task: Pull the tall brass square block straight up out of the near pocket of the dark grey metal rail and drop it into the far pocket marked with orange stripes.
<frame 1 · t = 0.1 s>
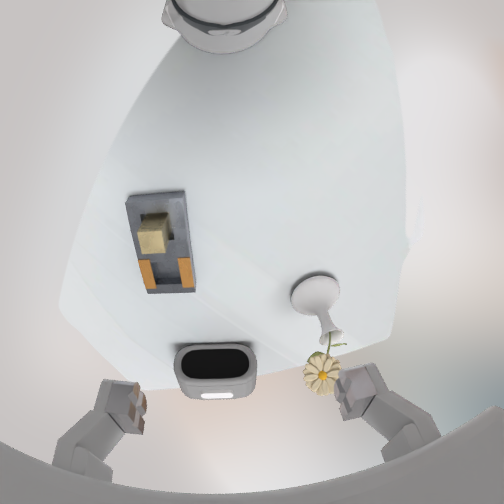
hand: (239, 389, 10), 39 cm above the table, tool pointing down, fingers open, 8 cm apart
brass block: (159, 221, 46), point 1 cm above the table, touching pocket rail
flower in vase: (310, 292, 61), on the table
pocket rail: (164, 242, 50), on the table
alarm clock: (215, 351, 70), on the table
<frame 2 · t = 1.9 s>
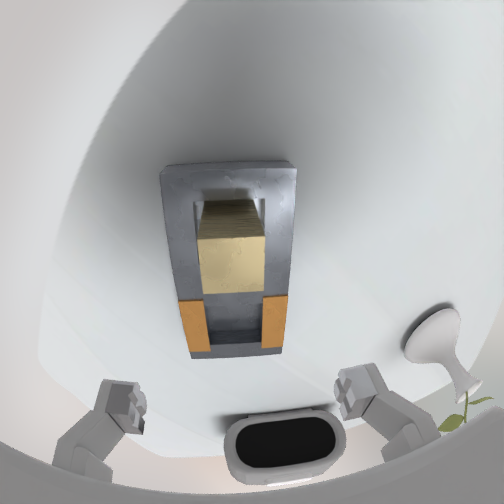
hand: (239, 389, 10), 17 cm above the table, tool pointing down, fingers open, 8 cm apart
brass block: (229, 222, 23), point 1 cm above the table, touching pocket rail
flower in vase: (424, 331, 37), on the table
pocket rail: (231, 266, 26), on the table
alarm clock: (278, 419, 44), on the table
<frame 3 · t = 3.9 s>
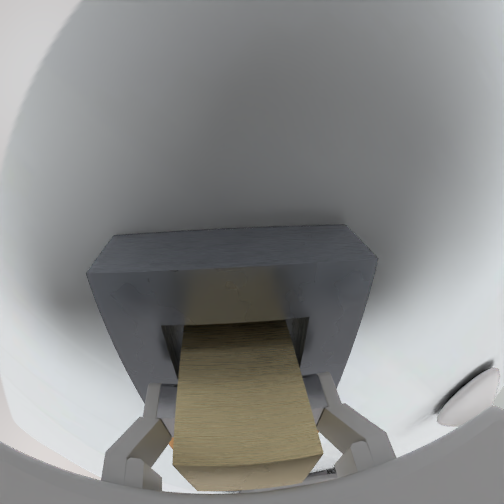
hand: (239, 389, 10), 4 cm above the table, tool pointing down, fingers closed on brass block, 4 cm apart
brass block: (235, 336, 13), point 1 cm above the table, touching gripper, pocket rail
flower in vase: (459, 391, 26), on the table
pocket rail: (237, 379, 16), on the table
alarm clock: (288, 480, 33), on the table
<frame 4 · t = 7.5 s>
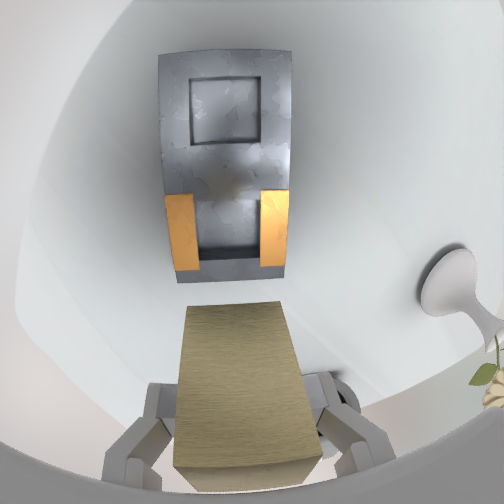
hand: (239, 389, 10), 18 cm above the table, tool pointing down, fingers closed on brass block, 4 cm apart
brass block: (235, 336, 13), point 15 cm above the table, touching gripper
flower in vase: (439, 279, 33), on the table
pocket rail: (225, 166, 23), on the table
alarm clock: (280, 391, 41), on the table
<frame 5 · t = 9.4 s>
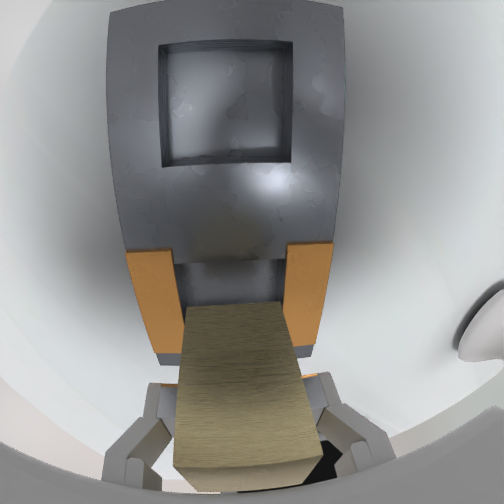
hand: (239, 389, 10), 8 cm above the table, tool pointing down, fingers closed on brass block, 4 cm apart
brass block: (235, 336, 13), point 5 cm above the table, touching gripper
flower in vase: (478, 320, 25), on the table
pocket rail: (226, 195, 15), on the table
alarm clock: (290, 441, 32), on the table
when the fingers open (5 cm above the table, at t = 11.0 s): brass block stays where it is, resting on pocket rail.
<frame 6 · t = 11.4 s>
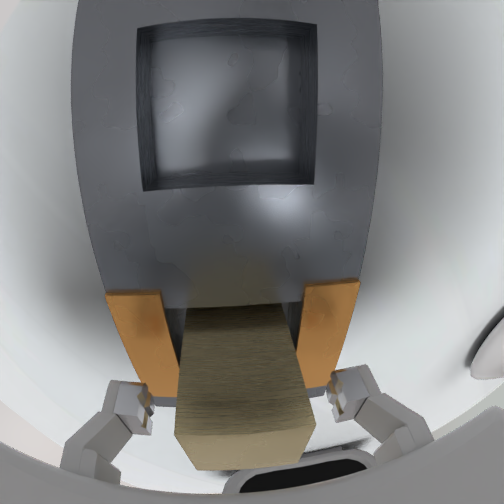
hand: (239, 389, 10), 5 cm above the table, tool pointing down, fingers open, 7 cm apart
brass block: (234, 321, 13), point 1 cm above the table, touching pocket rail
flower in vase: (491, 337, 22), on the table
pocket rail: (228, 220, 12), on the table
alarm clock: (295, 461, 29), on the table
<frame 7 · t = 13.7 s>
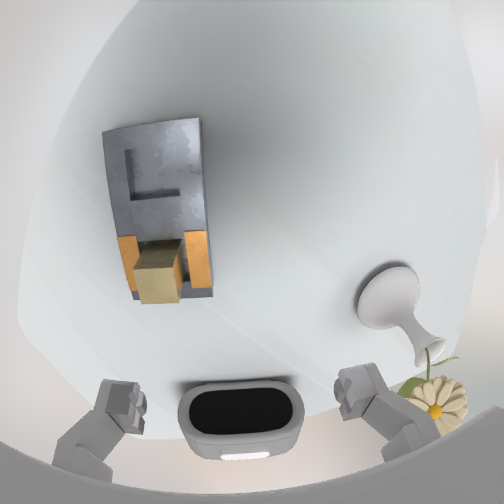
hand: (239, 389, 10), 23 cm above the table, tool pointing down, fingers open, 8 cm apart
brass block: (167, 253, 31), point 1 cm above the table, touching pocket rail
flower in vase: (380, 295, 39), on the table
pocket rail: (163, 210, 30), on the table
alarm clock: (238, 392, 46), on the table
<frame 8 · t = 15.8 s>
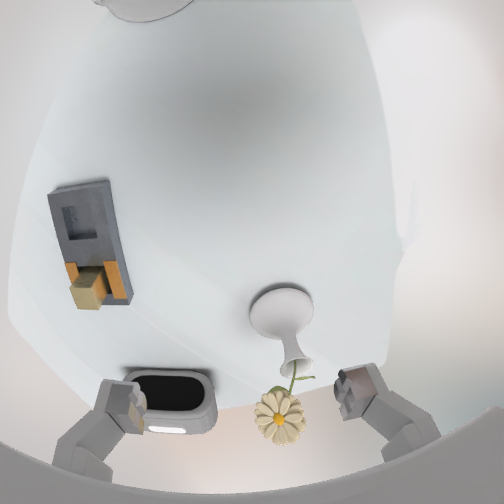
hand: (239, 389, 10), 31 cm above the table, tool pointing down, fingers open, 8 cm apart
brass block: (99, 273, 40), point 1 cm above the table, touching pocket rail
flower in vase: (276, 310, 49), on the table
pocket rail: (93, 244, 39), on the table
alarm clock: (171, 378, 56), on the table
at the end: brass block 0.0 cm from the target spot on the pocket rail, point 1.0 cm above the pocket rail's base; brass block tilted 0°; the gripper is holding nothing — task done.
